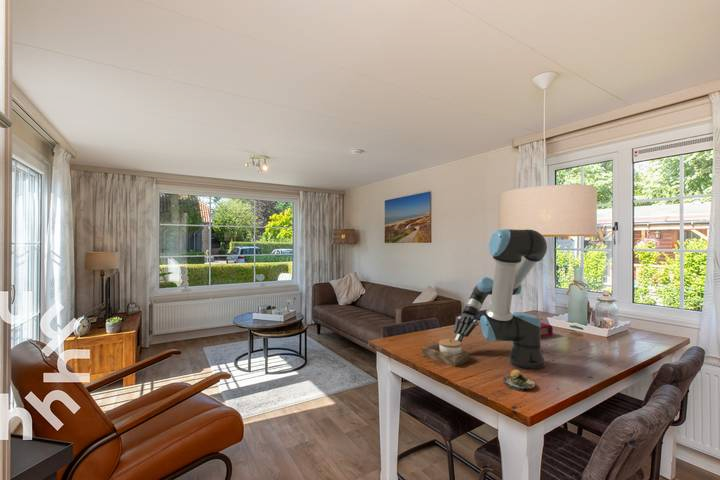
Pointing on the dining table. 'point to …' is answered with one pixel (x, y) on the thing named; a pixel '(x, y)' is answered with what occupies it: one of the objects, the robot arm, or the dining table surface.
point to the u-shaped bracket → (444, 355)
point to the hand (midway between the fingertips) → (454, 346)
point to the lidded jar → (450, 346)
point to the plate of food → (517, 381)
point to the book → (546, 330)
